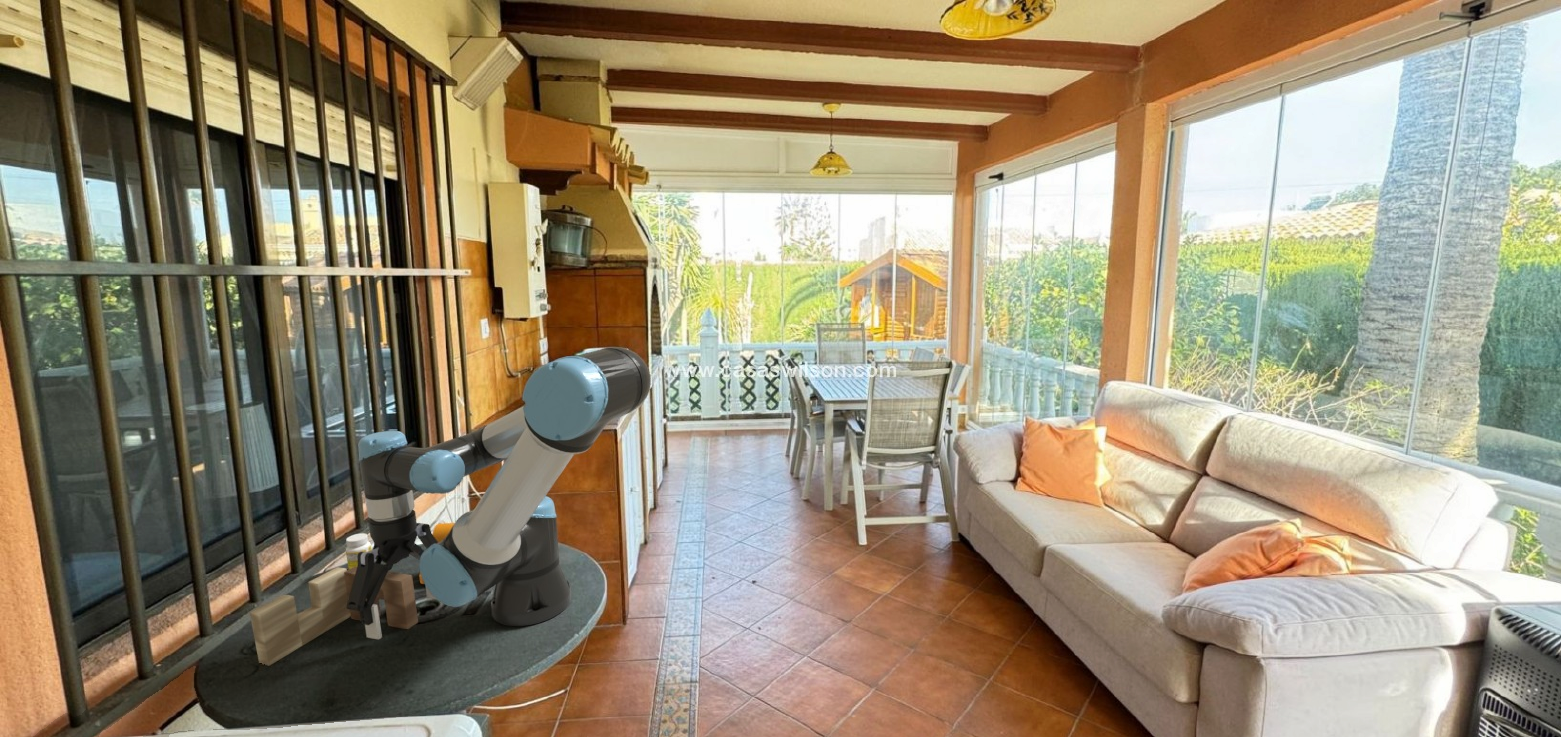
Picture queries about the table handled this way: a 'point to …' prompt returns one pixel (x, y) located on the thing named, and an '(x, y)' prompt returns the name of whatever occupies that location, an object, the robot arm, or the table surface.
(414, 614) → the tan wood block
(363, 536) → the supplement bottle
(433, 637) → the table surface
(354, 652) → the table surface
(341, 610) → the interlocking wood puzzle
